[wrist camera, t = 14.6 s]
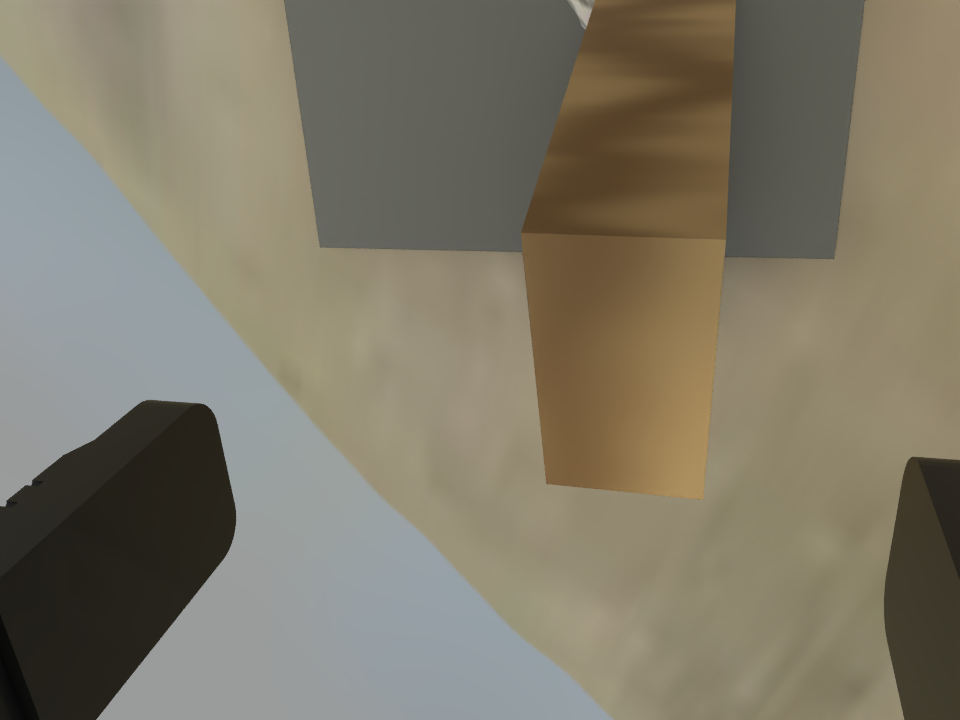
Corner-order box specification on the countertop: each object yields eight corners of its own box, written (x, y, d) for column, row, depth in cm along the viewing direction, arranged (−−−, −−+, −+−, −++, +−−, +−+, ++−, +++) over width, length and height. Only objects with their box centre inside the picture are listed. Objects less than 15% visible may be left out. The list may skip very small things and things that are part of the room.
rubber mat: (831, 251, 31) (834, 258, 30) (327, 241, 36) (320, 247, 35) (866, -51, 27) (870, -51, 26) (291, -19, 31) (281, -17, 31)
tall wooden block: (736, -8, 25) (726, 239, 17) (717, 225, 31) (702, 499, 22) (596, -4, 26) (521, 233, 18) (602, 221, 32) (546, 483, 23)
